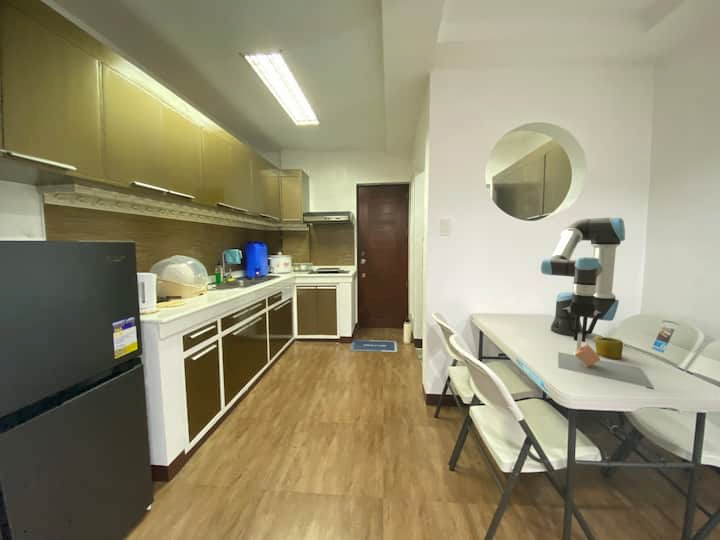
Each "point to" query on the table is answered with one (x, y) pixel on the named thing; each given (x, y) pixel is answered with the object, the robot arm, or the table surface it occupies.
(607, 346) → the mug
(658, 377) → the table surface
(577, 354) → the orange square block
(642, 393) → the table surface
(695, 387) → the table surface
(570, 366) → the mat
